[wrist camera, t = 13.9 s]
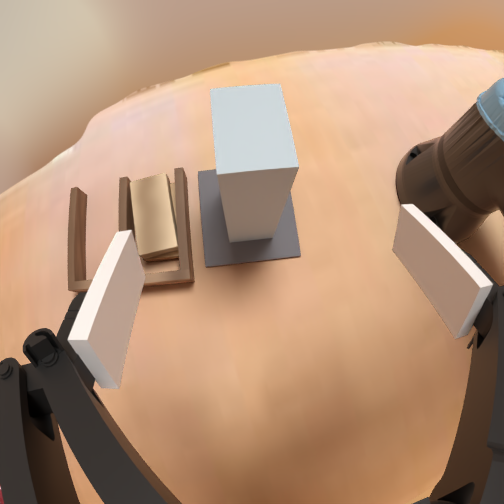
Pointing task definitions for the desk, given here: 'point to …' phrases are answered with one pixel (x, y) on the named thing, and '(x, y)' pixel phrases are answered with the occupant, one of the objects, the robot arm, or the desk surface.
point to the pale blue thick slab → (252, 158)
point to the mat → (245, 251)
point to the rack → (126, 222)
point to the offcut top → (154, 216)
